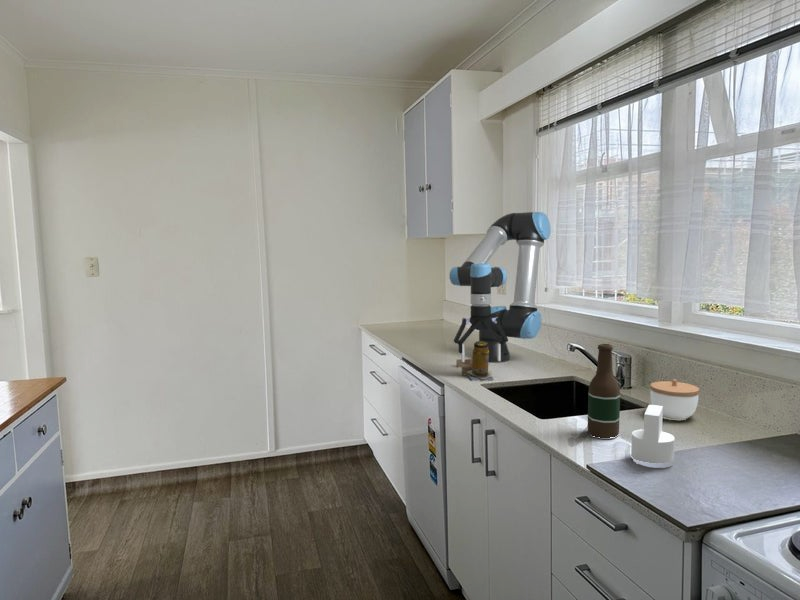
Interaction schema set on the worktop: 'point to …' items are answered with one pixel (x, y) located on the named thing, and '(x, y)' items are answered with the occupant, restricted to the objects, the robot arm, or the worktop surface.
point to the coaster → (478, 378)
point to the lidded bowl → (675, 398)
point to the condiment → (480, 361)
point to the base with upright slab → (653, 439)
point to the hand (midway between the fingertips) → (480, 361)
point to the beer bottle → (604, 397)
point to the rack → (464, 365)
